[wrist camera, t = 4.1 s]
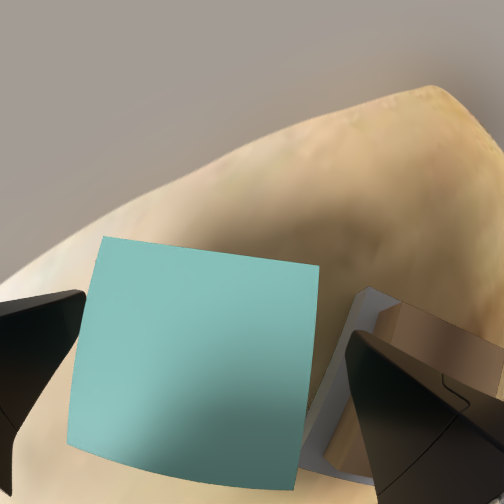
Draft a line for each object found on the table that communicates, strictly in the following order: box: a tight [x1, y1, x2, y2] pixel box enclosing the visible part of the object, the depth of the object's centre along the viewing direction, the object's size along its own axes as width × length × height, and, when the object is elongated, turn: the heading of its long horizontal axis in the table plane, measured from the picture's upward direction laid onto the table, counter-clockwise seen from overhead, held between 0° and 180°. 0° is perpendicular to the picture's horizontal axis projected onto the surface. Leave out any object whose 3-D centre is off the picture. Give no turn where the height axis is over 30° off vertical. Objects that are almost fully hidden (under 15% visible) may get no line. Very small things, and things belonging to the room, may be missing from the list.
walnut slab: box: [322, 302, 504, 478], centre depth 12 cm, size 8×8×2 cm
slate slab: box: [298, 286, 401, 486], centre depth 14 cm, size 10×10×2 cm
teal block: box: [67, 236, 319, 490], centre depth 10 cm, size 4×4×11 cm
